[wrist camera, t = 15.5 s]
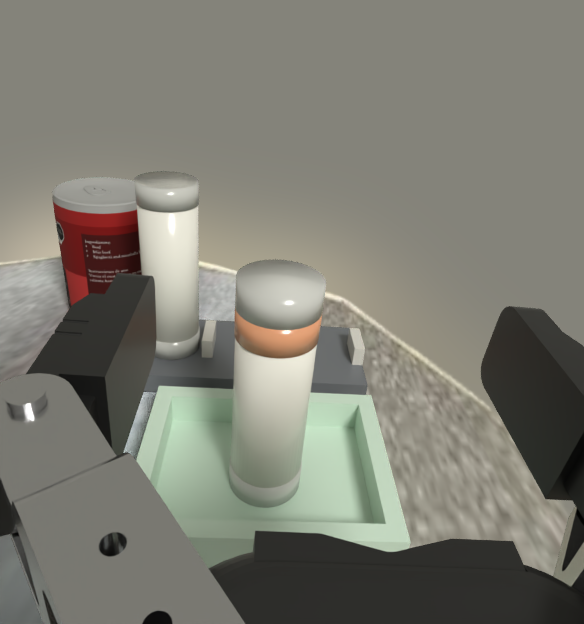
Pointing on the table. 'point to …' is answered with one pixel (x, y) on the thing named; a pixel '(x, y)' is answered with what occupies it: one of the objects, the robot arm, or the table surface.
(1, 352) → the table surface
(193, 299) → the plain fuse
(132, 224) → the canned food
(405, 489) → the table surface
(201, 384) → the clip block
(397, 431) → the table surface
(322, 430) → the tray
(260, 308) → the cylinder
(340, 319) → the table surface
